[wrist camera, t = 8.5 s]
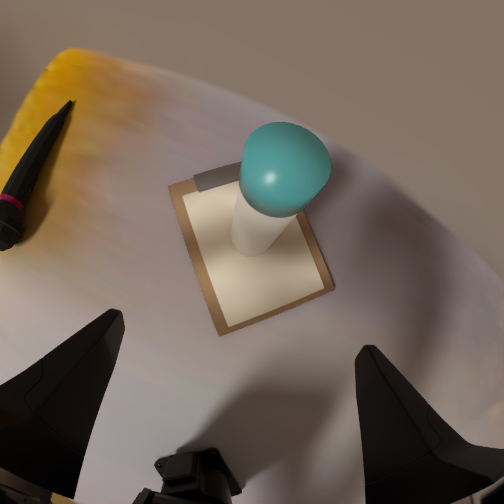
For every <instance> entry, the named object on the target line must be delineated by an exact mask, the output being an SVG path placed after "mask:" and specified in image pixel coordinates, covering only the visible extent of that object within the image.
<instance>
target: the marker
mask: <svg viewBox="0 0 504 504" xmlns="http://www.w3.org/2000/svg"><path fill="white" fill-rule="evenodd" d="M330 172H331V161H330V157H329V154H328V151H327V149H326V147H325V146H324V144H323V143H322V142H321V141H320V139H319V138H318V137H317V136H315V135H314V134H313V133H312V132H310V131H309V130H307V129H305V128H303V127H301V126H299V125H296V124H292V123H286V122H274V123H269V124H266V125H263V126H261V127H259V128H258V129H256V130H255V131H254V132H253V133H252V134H251V135H250V136H249V137H248V139H247V141H246V144H245V147H244V152H243V157H242V163H241V168H240V174H239V189H238V195H237V200H236V205H235V211H234V216H233V221H232V227H231V232H230V240H231V243H232V245H233V247H234V248H235V250H236V251H237V252H239V253H240V254H242V255H244V256H248V257H255V256H259V255H261V254H263V253H264V252H265V251H267V249H268V248H269V247H270V246H271V245H272V243H273V242H274V241H275V240H276V239H277V238H278V236H279V235H280V234H281V233H282V232H283V230H284V229H285V228H286V227H287V226H288V225H289V223H290V222H291V221H292V220H293V219H294V217H295V216H296V215H297V214H298V213H299V212H301V211H302V210H303V209H304V208H305V207H306V206H307V205H308V204H309V203H310V202H311V200H312V199H313V198H314V197H315V196H316V195H317V193H318V192H319V191H320V190H321V189H322V188H323V186H324V185H325V184H326V182H327V181H328V179H329V176H330Z"/></svg>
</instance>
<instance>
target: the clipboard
mask: <svg viewBox="0 0 504 504" xmlns="http://www.w3.org/2000/svg"><path fill="white" fill-rule="evenodd" d="M241 163H242V162H238V163H234V164H230V165H227V166H223V167H220V168H216V169H213V170H209V171H206V172H203V173H199V174H196V175H194V178H192V179H188V180H185V181H182V182H179V183H176V184H173V185H170V186H168V189H169V192H170V195H171V199H172V202H173V206H174V209H175V212H176V215H177V219H178V222H179V225H180V228H181V231H182V234H183V237H184V241H185V244H186V247H187V250H188V253H189V256H190V259H191V261H192V264H193V267H194V270H195V273H196V276H197V279H198V282H199V284H200V287H201V290H202V293H203V296H204V298H205V301H206V304H207V306H208V309H209V312H210V314H211V317H212V320H213V322H214V325H215V327H216V330H217V333H218V335H219V337H220V336H222V335H225V334H228V333H231V332H233V331H236V330H239V329H241V328H244V327H246V326H249V325H252V324H254V323H257V322H259V321H262V320H264V319H267V318H269V317H272V316H274V315H277V314H279V313H282V312H284V311H286V310H289V309H291V308H294V307H296V306H298V305H301V304H303V303H305V302H308V301H310V300H312V299H314V298H317V297H319V296H321V295H323V294H326V293H328V292H330V291H332V290H335V288H334V285H333V283H332V280H331V278H330V275H329V272H328V270H327V267H326V265H325V262H324V260H323V257H322V255H321V252H320V250H319V247H318V245H317V243H316V240H315V238H314V235H313V233H312V231H311V228H310V226H309V223H308V221H307V219H306V216H305V214H304V212H303V210H302V211H301V212H299V213H298V214H297V215H296V216H295V217H294V219H293V220H292V221H291V222H290V223H289V225H288V226H287V227H286V228H285V229H284V230H283V232H282V233H281V234H280V235H279V236H278V238H277V239H276V240H275V241H274V242H273V243H272V245H271V246H270V247H269V248H268V249H267V251H265V252H264V253H263V254H261V255H259V256H255V257H248V256H244V255H242V254H240V253H239V252H237V251H236V250H235V248H234V247H233V245H232V243H231V240H230V232H231V227H232V221H233V216H234V211H235V205H236V200H237V195H238V189H239V174H240V168H241Z"/></svg>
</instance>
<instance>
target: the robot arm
mask: <svg viewBox="0 0 504 504" xmlns="http://www.w3.org/2000/svg"><path fill="white" fill-rule="evenodd" d="M124 331H125V325H124V320H123V315H122V312H121V311H120V310H116V309H109V310H108V311H106V312H105V313H103V314H102V315H100V316H99V317H98V318H96V319H95V320H93V321H92V322H91V323H89V324H88V325H86V326H85V327H84V328H82V329H81V330H79V331H78V332H77V333H75V334H74V335H72V336H71V337H70V338H68V339H67V340H66V341H64V342H63V343H61V344H60V345H59V346H57V347H56V348H55V349H53V350H52V351H51V352H49V353H48V354H47V355H45V356H44V357H43V358H41V359H40V360H38V361H37V362H36V363H34V364H33V365H32V366H30V367H29V368H27V369H26V370H24V371H23V372H21V373H20V374H18V375H17V376H15V377H13V378H12V379H10V380H8V381H7V382H5V383H3V384H2V385H0V504H53V503H52V502H51V497H52V493H56V494H59V495H62V496H64V497H67V498H70V499H74V496H75V492H76V488H77V483H78V479H79V475H80V471H81V468H82V464H83V460H84V456H85V453H86V449H87V446H88V442H89V439H90V436H91V433H92V429H93V426H94V423H95V420H96V417H97V414H98V411H99V408H100V405H101V402H102V400H103V397H104V394H105V391H106V389H107V386H108V383H109V381H110V378H111V375H112V373H113V370H114V367H115V364H116V360H117V356H118V353H119V349H120V345H121V342H122V338H123V335H124ZM355 379H356V399H357V406H358V414H359V422H360V431H361V440H362V451H363V462H364V477H365V500H366V504H504V449H497V448H490V447H483V446H477V445H473V444H470V443H468V442H467V441H466V440H464V439H463V438H462V437H461V436H460V435H459V434H458V433H457V432H456V431H455V430H454V429H453V428H452V427H450V426H449V425H448V424H447V423H446V422H445V421H444V420H443V419H442V418H441V417H440V416H439V415H438V414H437V412H436V411H435V410H434V409H433V408H432V407H431V406H430V405H429V404H428V403H427V401H426V400H425V399H424V398H423V397H422V396H421V395H420V394H419V393H418V391H417V390H416V389H415V388H414V387H413V386H412V385H411V384H410V383H409V382H408V380H407V379H406V378H405V377H404V376H403V375H402V374H401V373H400V372H399V371H398V370H397V368H396V367H395V366H394V365H393V364H392V363H391V362H390V361H389V360H388V359H387V358H386V357H385V355H384V354H383V353H382V352H381V351H380V350H379V349H378V348H377V347H376V346H375V345H364V346H363V348H362V349H361V351H360V352H359V354H358V355H357V357H356V359H355ZM211 452H216V453H215V454H212V453H211ZM158 464H160V465H162V466H159V465H158ZM154 466H155V468H156V469H157V471H158V472H159V474H160V475H161V477H162V478H163V479H162V481H163V485H162V489H161V493H159V492H155V491H151V489H147V488H144V489H143V491H142V492H140V493H139V494H138V496H137V497H136V499H135V500H134V502H133V503H132V504H232V500H231V496H235V495H239V494H241V493H242V489H241V487H240V485H239V484H238V482H237V481H236V479H235V477H234V476H233V474H232V473H231V471H230V469H229V468H228V466H227V464H226V462H225V461H224V459H223V457H222V456H221V454H220V452H219V450H218V449H216V448H209V449H205V450H202V451H198V452H193V451H192V452H188V453H184V454H180V455H175V456H171V457H169V458H168V459H163V460H158V461H156V462H155V464H154ZM235 490H238V491H235Z"/></svg>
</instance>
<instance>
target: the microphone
mask: <svg viewBox="0 0 504 504" xmlns="http://www.w3.org/2000/svg"><path fill="white" fill-rule="evenodd" d="M71 104H72V101H70V100H69V101H68V102H67V103H66V104H65V105H64V106H63V107H62V108H61V109H60V110H59V112H58V113H57V114H55V115H53V116H52V117H51V118H50V119H49V120H48V121H47V122H46V124H45V125H44V126H43V128H42V129H41V130H40V132H39V133H38V134H37V136H36V137H35V139H34V140H33V141H32V143H31V144H30V146H29V147H28V149H27V150H26V152H25V153H24V155H23V156H22V158H21V159H20V161H19V163H18V164H17V166H16V168H15V169H14V171H13V173H12V174H11V176H10V178H9V180H8V181H7V183H6V185H5V187H4V189H3V191H2V192H1V194H0V251H5V250H7V249H10V248H12V247H13V245H14V244H15V243H16V241H17V239H18V238H19V237H21V236H22V235H23V232H24V227H23V226H22V216H21V213H20V211H19V210H21V209H22V208H23V207H24V205H25V203H26V200H27V197H28V195H29V193H30V190H32V189H33V187H34V184H35V182H36V180H37V174H38V172H39V170H40V168H41V166H42V163H43V161H44V159H45V157H46V155H47V153H48V151H49V150H50V148H51V146H52V144H53V142H54V140H55V138H56V137H57V135H58V133H59V131H60V130H61V128H62V125H63V123H64V120H63V119H64V117H65V115H66V113H67V112H68V110H69V108H70V106H71Z"/></svg>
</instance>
